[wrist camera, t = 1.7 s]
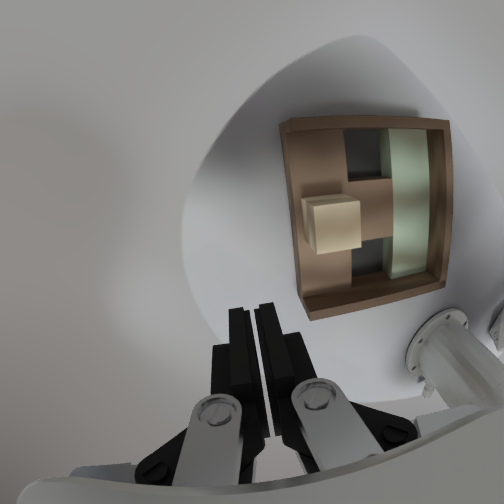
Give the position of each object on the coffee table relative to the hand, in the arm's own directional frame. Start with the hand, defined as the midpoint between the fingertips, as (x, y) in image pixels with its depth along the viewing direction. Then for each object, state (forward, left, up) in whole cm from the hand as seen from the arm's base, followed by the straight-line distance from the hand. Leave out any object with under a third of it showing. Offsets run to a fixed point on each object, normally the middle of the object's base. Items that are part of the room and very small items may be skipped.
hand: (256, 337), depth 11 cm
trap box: (0, -13, -19) cm, 23 cm away
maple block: (0, -8, -16) cm, 18 cm away
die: (-25, -46, -19) cm, 55 cm away
